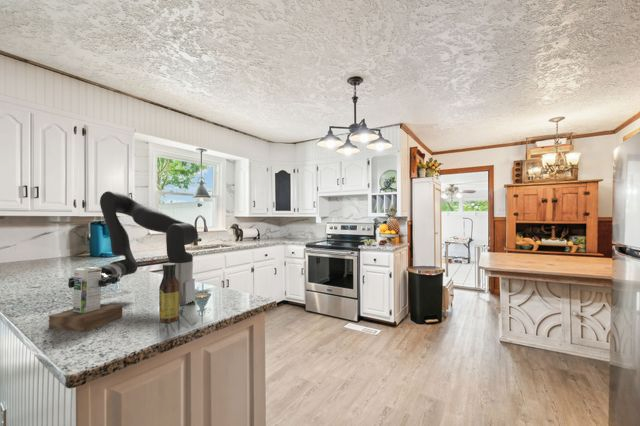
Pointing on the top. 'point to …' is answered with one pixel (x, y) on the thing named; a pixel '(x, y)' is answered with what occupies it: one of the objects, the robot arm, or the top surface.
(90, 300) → the syrup box
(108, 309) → the walnut plinth
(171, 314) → the sauce bottle
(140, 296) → the top surface
